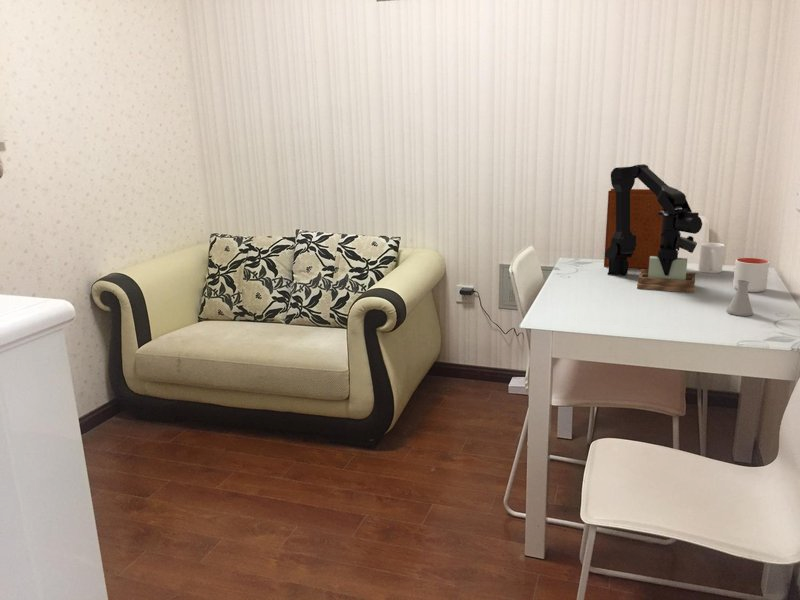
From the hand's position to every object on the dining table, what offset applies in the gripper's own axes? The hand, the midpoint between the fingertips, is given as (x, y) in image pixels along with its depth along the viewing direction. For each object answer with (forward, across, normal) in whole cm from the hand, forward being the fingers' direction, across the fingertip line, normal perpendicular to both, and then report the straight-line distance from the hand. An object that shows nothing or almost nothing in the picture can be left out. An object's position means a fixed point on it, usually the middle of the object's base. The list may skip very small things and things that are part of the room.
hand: (666, 274), depth 230 cm
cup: (+5, +5, -26) cm, 27 cm away
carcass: (+4, 0, 0) cm, 5 cm away
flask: (+5, -27, -22) cm, 35 cm away
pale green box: (+1, 0, 0) cm, 1 cm away
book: (+5, +30, +13) cm, 33 cm away
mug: (+5, +29, -14) cm, 33 cm away
